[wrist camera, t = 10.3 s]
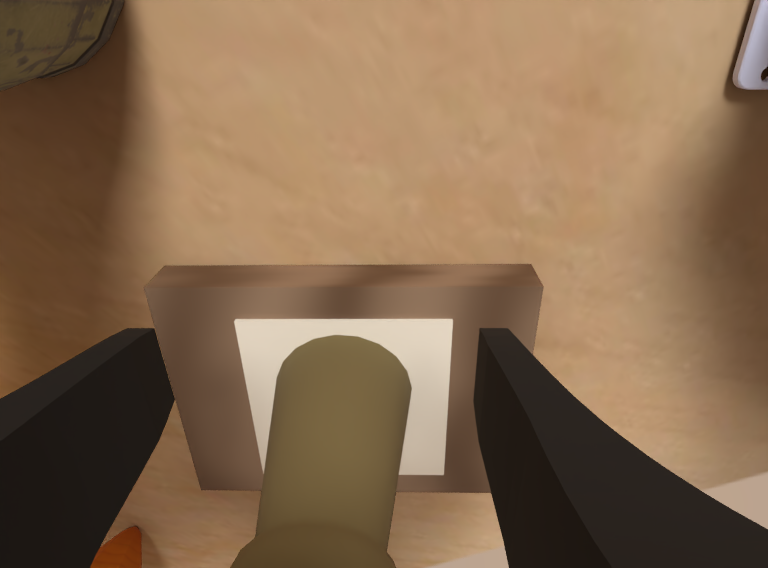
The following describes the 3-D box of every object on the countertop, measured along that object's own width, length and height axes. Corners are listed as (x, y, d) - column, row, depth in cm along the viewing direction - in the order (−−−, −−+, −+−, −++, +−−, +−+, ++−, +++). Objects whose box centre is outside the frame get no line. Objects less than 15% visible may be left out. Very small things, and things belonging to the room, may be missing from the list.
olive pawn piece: (431, 420, 22) (456, 722, 13) (313, 453, 24) (255, 753, 14) (380, 316, 20) (363, 596, 10) (251, 360, 21) (126, 647, 11)
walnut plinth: (531, 264, 21) (544, 288, 19) (503, 461, 27) (511, 496, 25) (164, 265, 22) (141, 289, 20) (214, 459, 27) (199, 493, 25)
